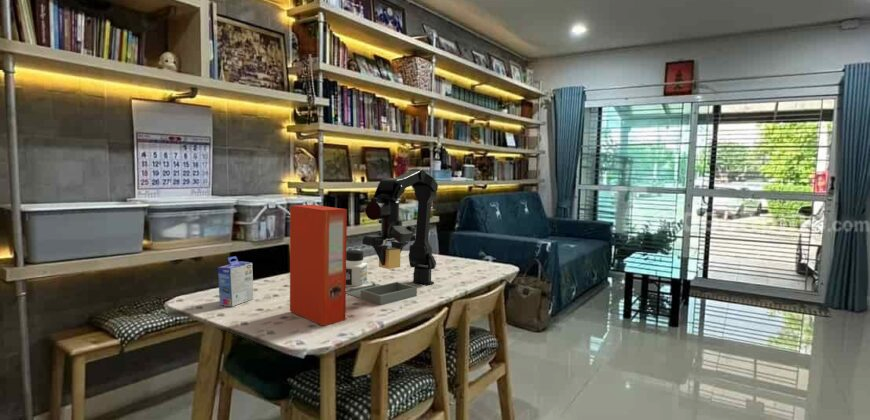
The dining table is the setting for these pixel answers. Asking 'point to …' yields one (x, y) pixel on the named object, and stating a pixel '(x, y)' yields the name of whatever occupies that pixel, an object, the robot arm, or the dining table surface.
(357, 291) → the lid
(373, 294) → the case
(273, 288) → the dining table surface
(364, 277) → the container
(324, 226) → the file binder
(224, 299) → the ink cartridge box
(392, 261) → the block
